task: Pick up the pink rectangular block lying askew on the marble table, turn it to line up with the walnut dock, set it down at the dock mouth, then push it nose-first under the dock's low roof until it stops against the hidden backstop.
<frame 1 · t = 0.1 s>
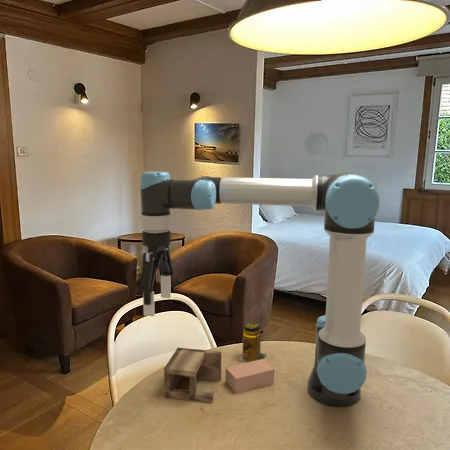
hand: (158, 306, 115), 28 cm above the table, fingers open, 13 cm apart
pink rectangular block: (249, 383, 128), on the table
condiment: (252, 357, 144), on the table
dock: (194, 387, 125), on the table
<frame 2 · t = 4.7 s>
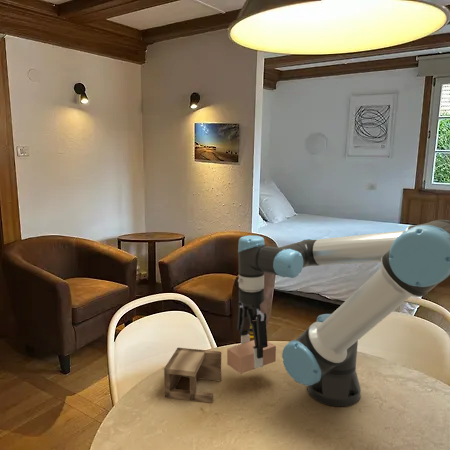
hand: (251, 360, 126), 7 cm above the table, fingers closed on pink rectangular block, 8 cm apart
pink rectangular block: (251, 362, 127), point 7 cm above the table, touching gripper
everything else where it was.
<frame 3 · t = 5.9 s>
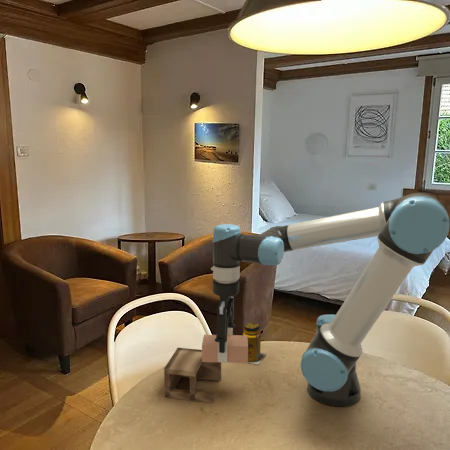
hand: (225, 354, 122), 12 cm above the table, fingers closed on pink rectangular block, 8 cm apart
pink rectangular block: (225, 356, 122), point 11 cm above the table, touching gripper
everything else where it was.
when the fingers open (0 cm above the table, at t = 7.5 s): pink rectangular block stays where it is, on the table.
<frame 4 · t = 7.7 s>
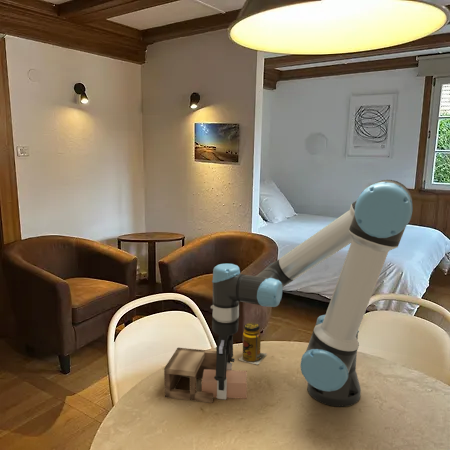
hand: (224, 390, 124), 0 cm above the table, fingers open, 8 cm apart
pink rectangular block: (224, 391, 124), on the table
everything else where it was.
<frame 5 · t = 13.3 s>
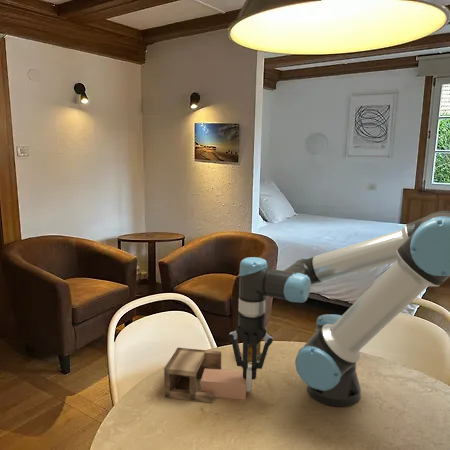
hand: (249, 388, 122), 2 cm above the table, fingers closed
pink rectangular block: (224, 391, 124), on the table, touching gripper
everything else where it was.
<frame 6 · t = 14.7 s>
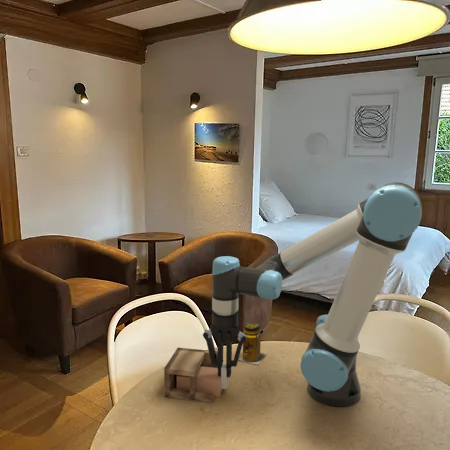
hand: (224, 386, 123), 2 cm above the table, fingers closed
pink rectangular block: (201, 387, 126), on the table, touching gripper
everything else where it was.
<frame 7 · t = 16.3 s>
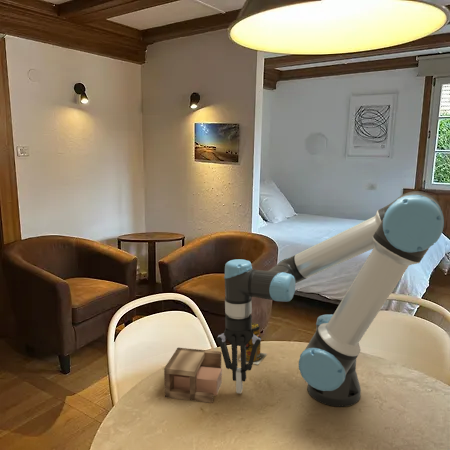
hand: (239, 390, 122), 1 cm above the table, fingers closed
pink rectangular block: (198, 387, 126), on the table
everything else where it was.
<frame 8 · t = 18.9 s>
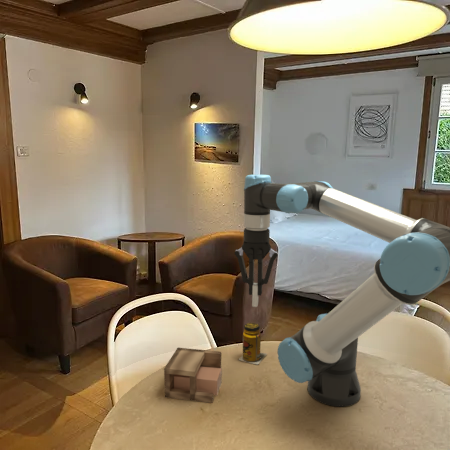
hand: (255, 304, 126), 24 cm above the table, fingers closed
nothing on the table moved.
at the end: pink rectangular block 0.8 cm from the target spot, on the table; pink rectangular block tilted 0°; the gripper is holding nothing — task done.
